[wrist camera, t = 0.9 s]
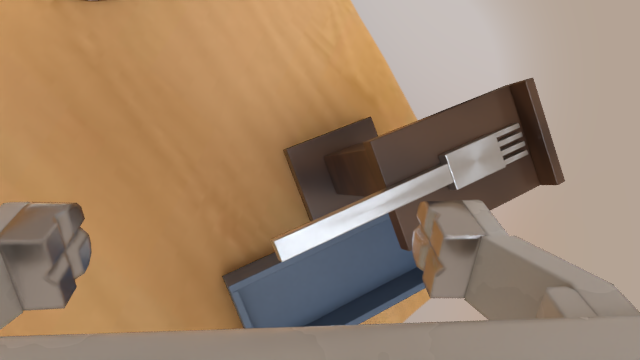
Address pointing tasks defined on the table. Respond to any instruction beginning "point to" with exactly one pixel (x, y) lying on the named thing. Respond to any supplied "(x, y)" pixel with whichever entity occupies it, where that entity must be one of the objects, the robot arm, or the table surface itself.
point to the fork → (407, 191)
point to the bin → (327, 281)
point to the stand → (426, 157)
